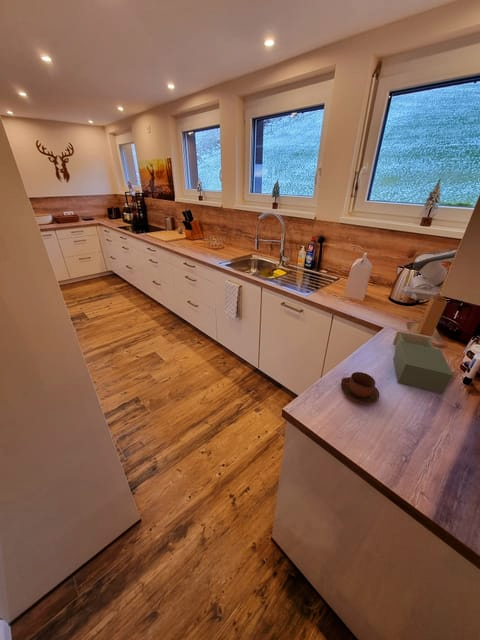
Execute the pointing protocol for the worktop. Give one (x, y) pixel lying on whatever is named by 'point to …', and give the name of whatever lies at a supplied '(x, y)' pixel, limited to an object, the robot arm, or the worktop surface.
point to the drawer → (412, 339)
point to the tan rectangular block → (432, 314)
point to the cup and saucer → (360, 388)
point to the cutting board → (435, 337)
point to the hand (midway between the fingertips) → (428, 300)
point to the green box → (421, 367)
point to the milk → (358, 279)
